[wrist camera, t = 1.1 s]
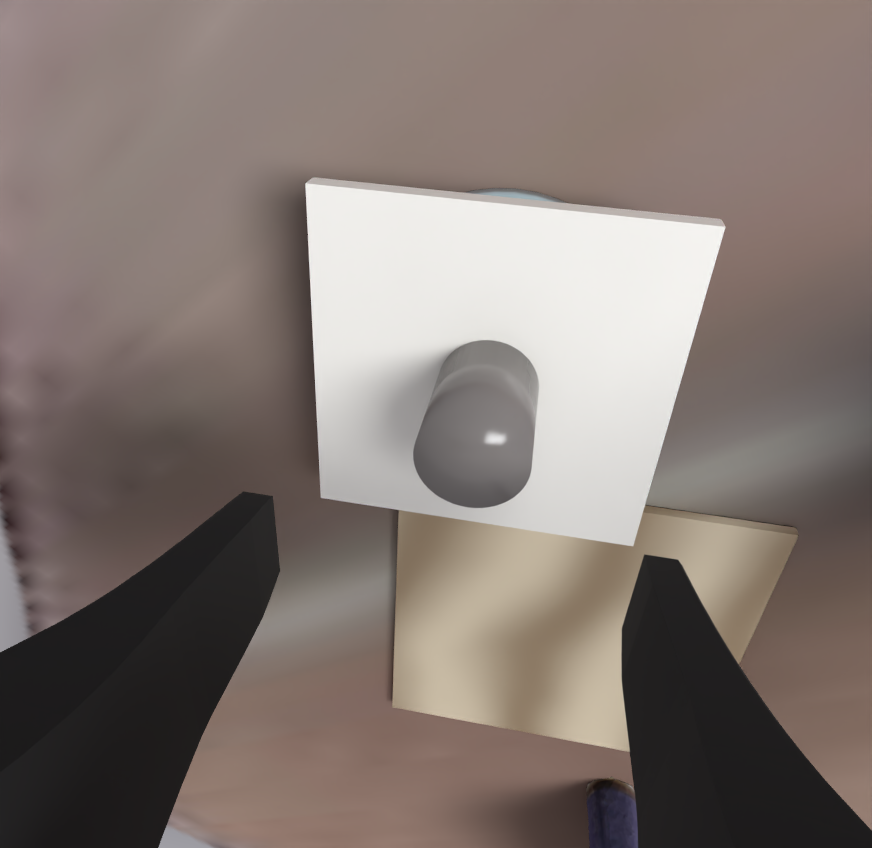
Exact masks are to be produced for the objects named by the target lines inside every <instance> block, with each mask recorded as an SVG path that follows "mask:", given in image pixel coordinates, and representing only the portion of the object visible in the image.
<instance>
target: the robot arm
mask: <svg viewBox="0 0 872 848" xmlns="http://www.w3.org/2000/svg"><path fill="white" fill-rule="evenodd" d="M279 572H280V567H279V557H278V546H277V536H276V526H275V516H274V505H273V496H268V495H261V494H255V493H248V492H242V493H241V494H240V495H238V496H237V497H236V498H234V499H233V500H232V501H230V502H229V503H228V504H227V505H225V506H224V507H223V508H222V509H220V510H219V511H218V512H217V513H215V514H214V515H213V516H212V517H210V518H209V519H208V520H207V521H205V522H204V523H203V524H202V525H200V526H199V527H198V528H197V529H195V530H194V531H193V532H192V533H190V534H189V535H188V536H187V537H185V538H184V539H183V540H181V541H180V542H179V543H177V544H176V545H175V546H174V547H172V548H171V549H170V550H168V551H167V552H166V553H164V554H163V555H162V556H160V557H159V558H158V559H156V560H155V561H154V562H152V563H151V564H150V565H148V566H147V567H145V568H144V569H142V570H141V571H140V572H138V573H137V574H135V575H134V576H132V577H131V578H129V579H128V580H127V581H125V582H124V583H122V584H121V585H119V586H118V587H117V588H115V589H113V590H112V591H110V592H109V593H107V594H106V595H104V596H103V597H101V598H99V599H98V600H96V601H95V602H93V603H91V604H90V605H88V606H86V607H85V608H83V609H81V610H79V611H78V612H76V613H74V614H73V615H71V616H69V617H68V618H66V619H64V620H62V621H60V622H59V623H57V624H55V625H53V626H51V627H49V628H47V629H45V630H43V631H41V632H39V633H37V634H36V635H34V636H32V637H30V638H28V639H26V640H24V641H22V642H20V643H18V644H16V645H14V646H12V647H10V648H8V649H6V650H4V651H2V652H0V848H158V847H159V844H160V841H161V838H162V836H163V833H164V830H165V828H166V825H167V823H168V820H169V817H170V815H171V812H172V810H173V807H174V804H175V802H176V799H177V796H178V794H179V791H180V789H181V786H182V783H183V781H184V779H185V776H186V774H187V771H188V769H189V766H190V764H191V761H192V759H193V756H194V754H195V751H196V749H197V746H198V744H199V741H200V739H201V737H202V735H203V733H204V730H205V728H206V726H207V724H208V722H209V720H210V718H211V716H212V714H213V712H214V710H215V708H216V706H217V704H218V702H219V700H220V698H221V697H222V695H223V693H224V691H225V689H226V687H227V685H228V683H229V681H230V679H231V677H232V676H233V674H234V672H235V670H236V668H237V666H238V664H239V662H240V660H241V658H242V657H243V655H244V653H245V651H246V649H247V647H248V645H249V643H250V641H251V639H252V637H253V635H254V633H255V631H256V629H257V628H258V626H259V624H260V622H261V620H262V618H263V615H264V613H265V610H266V607H267V605H268V602H269V600H270V597H271V594H272V591H273V589H274V586H275V583H276V580H277V577H278V575H279ZM621 663H622V688H623V697H624V706H625V715H626V723H627V732H628V740H629V748H630V757H631V765H632V773H633V782H634V790H635V799H636V812H637V826H638V848H872V830H871V829H870V828H869V827H868V826H867V825H866V824H865V823H864V822H863V821H862V820H861V819H860V818H859V817H858V815H857V814H856V813H855V812H854V811H853V810H852V809H851V808H850V807H849V806H848V805H847V804H846V802H845V801H844V800H843V799H842V798H841V797H840V796H839V795H838V794H837V793H836V792H835V791H834V789H833V788H832V787H831V786H830V785H829V784H828V783H827V782H826V781H825V779H824V778H823V777H822V776H821V775H820V774H819V772H818V771H817V770H816V769H815V768H814V766H813V765H812V764H811V763H810V762H809V760H808V759H807V758H806V757H805V756H804V754H803V753H802V752H801V751H800V749H799V748H798V747H797V746H796V744H795V743H794V742H793V740H792V739H791V738H790V737H789V735H788V734H787V733H786V732H785V730H784V729H783V728H782V726H781V725H780V724H779V722H778V721H777V720H776V718H775V717H774V715H773V714H772V713H771V711H770V710H769V709H768V707H767V706H766V704H765V703H764V702H763V700H762V699H761V697H760V696H759V694H758V693H757V691H756V690H755V689H754V687H753V686H752V684H751V683H750V681H749V680H748V678H747V677H746V675H745V674H744V672H743V671H742V669H741V667H740V666H739V664H738V663H737V661H736V660H735V658H734V656H733V655H732V653H731V651H730V650H729V648H728V647H727V645H726V643H725V642H724V640H723V639H722V637H721V635H720V634H719V632H718V630H717V628H716V627H715V625H714V623H713V622H712V620H711V618H710V616H709V614H708V613H707V611H706V609H705V607H704V606H703V604H702V602H701V600H700V598H699V596H698V595H697V593H696V591H695V589H694V587H693V585H692V583H691V581H690V579H689V577H688V576H687V574H686V572H685V570H684V568H683V566H682V564H681V563H680V562H679V560H677V559H671V558H665V557H658V556H652V555H645V554H644V557H643V560H642V563H641V567H640V570H639V573H638V576H637V580H636V583H635V586H634V590H633V593H632V596H631V599H630V603H629V606H628V609H627V613H626V616H625V619H624V622H623V626H622V652H621Z"/></svg>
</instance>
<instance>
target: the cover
mask: <svg viewBox="0 0 872 848" xmlns="http://www.w3.org/2000/svg"><path fill="white" fill-rule="evenodd" d="M305 186H306V206H307V227H308V247H309V268H310V288H311V308H312V329H313V349H314V370H315V390H316V411H317V431H318V451H319V472H320V492H321V498H325V499H331V500H338V501H344V502H351V503H357V504H363V505H370V506H376V507H383V508H389V509H396V510H402V511H408V512H415V513H421V514H428V515H434V516H441V517H447V518H454V519H460V520H466V521H473V522H479V523H486V524H492V525H499V526H505V527H511V528H518V529H524V530H531V531H537V532H544V533H550V534H556V535H563V536H569V537H576V538H582V539H589V540H595V541H601V542H608V543H614V544H621V545H627V546H633V545H634V542H635V538H636V535H637V531H638V528H639V524H640V521H641V517H642V514H643V510H644V507H645V504H646V500H647V497H648V493H649V490H650V486H651V483H652V479H653V476H654V472H655V469H656V465H657V462H658V459H659V455H660V452H661V448H662V445H663V441H664V438H665V434H666V431H667V427H668V424H669V420H670V417H671V413H672V410H673V407H674V403H675V400H676V396H677V393H678V389H679V386H680V382H681V379H682V375H683V372H684V368H685V365H686V362H687V358H688V355H689V351H690V348H691V344H692V341H693V337H694V334H695V330H696V327H697V323H698V320H699V316H700V313H701V310H702V306H703V303H704V299H705V296H706V292H707V289H708V285H709V282H710V278H711V275H712V271H713V268H714V265H715V261H716V258H717V254H718V251H719V247H720V244H721V240H722V237H723V233H724V230H725V225H724V224H723V222H722V220H721V219H715V218H705V217H696V216H686V215H676V214H666V213H656V212H647V211H637V210H627V209H617V208H608V207H598V206H588V205H578V204H569V203H559V202H549V201H539V200H530V199H520V198H510V197H500V196H491V195H481V194H471V193H461V192H452V191H442V190H432V189H422V188H412V187H403V186H393V185H383V184H373V183H364V182H354V181H344V180H334V179H325V178H315V177H313V178H312V179H310V180H309V181H308V182H306V183H305Z"/></svg>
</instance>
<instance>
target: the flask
mask: <svg viewBox="0 0 872 848" xmlns="http://www.w3.org/2000/svg"><path fill="white" fill-rule="evenodd" d="M586 791H587V807H588V820H589V840H590V848H638V826H637V812H636V799H635V791H634V790H633V787H632V786H631V785H629V784H627V783H624V782H622V783H621V781H619V780H616V779H614V778H613V777H610V778H607V779H599V780H594V781H593V782H591V783H589V784H588V786H587V789H586Z"/></svg>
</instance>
